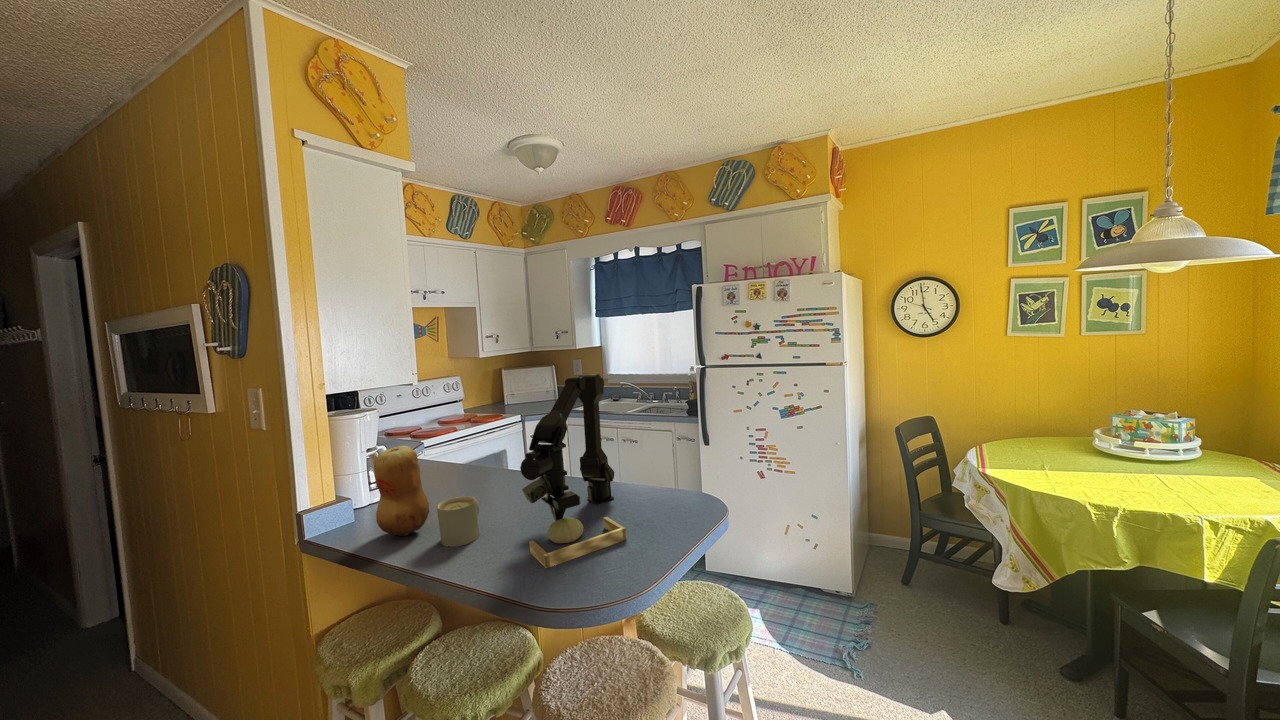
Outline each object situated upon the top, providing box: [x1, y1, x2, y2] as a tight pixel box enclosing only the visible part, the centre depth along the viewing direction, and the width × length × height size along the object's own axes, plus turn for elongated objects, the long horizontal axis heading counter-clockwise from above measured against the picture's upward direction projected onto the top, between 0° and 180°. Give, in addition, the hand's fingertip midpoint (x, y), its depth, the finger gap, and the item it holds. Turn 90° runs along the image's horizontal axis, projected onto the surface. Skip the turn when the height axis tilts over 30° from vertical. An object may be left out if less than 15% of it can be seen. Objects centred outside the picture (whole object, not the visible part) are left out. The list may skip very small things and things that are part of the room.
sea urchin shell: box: [546, 517, 584, 544], centre depth 133 cm, size 9×8×8 cm
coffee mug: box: [436, 495, 481, 548], centre depth 139 cm, size 13×10×10 cm
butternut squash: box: [373, 445, 430, 537], centre depth 143 cm, size 14×13×25 cm
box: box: [529, 516, 627, 569], centre depth 127 cm, size 22×10×3 cm, turn 123°
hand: (558, 523), depth 137 cm, fingers closed
